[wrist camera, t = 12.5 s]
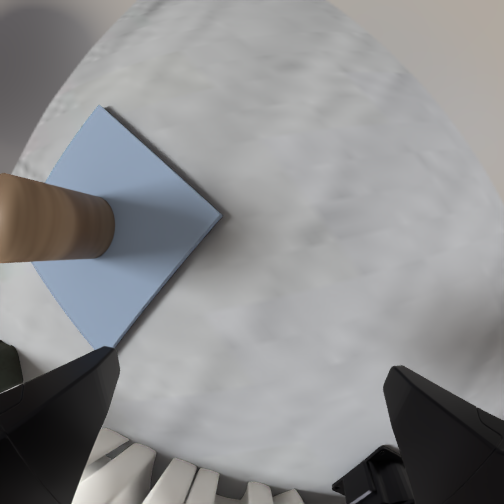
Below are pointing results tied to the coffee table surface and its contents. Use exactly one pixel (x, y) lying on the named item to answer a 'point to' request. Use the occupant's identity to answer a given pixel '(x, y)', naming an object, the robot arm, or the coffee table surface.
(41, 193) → the walnut pillar
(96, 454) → the wavy white extrusion
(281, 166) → the coffee table surface
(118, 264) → the blue mat
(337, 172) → the coffee table surface
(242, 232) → the coffee table surface
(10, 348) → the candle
